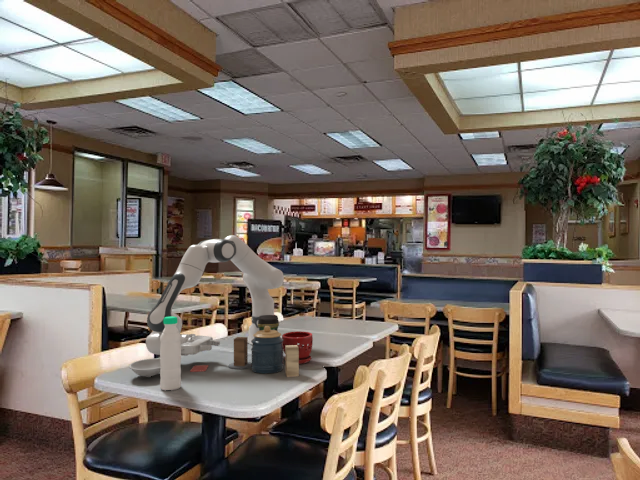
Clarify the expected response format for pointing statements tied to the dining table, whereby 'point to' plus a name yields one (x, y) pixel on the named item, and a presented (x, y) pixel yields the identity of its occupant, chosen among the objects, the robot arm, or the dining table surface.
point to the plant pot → (303, 339)
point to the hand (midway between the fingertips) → (215, 345)
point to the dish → (146, 367)
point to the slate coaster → (240, 366)
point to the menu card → (199, 368)
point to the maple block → (292, 360)
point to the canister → (267, 351)
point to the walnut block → (240, 351)
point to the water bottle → (170, 355)
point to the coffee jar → (268, 322)
